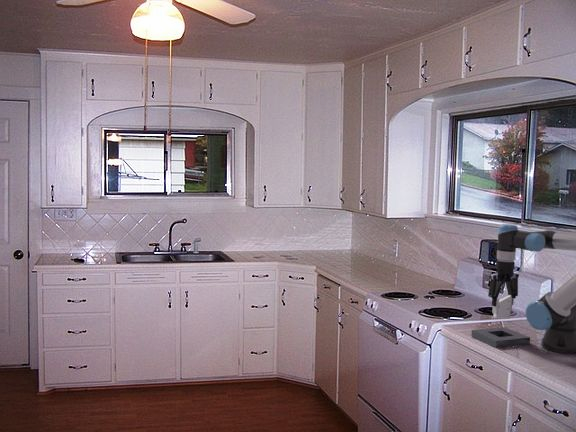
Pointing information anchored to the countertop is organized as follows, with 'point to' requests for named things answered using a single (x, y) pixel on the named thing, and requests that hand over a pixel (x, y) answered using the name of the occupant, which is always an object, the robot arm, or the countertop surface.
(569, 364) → the countertop surface
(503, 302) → the white wedge bracket
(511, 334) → the grey square frame
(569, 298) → the robot arm
